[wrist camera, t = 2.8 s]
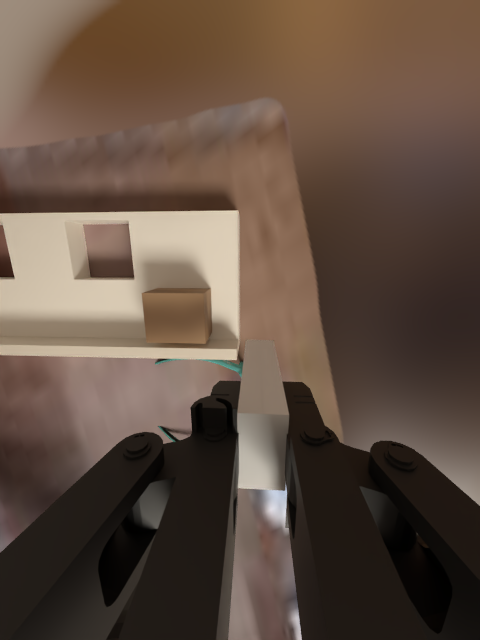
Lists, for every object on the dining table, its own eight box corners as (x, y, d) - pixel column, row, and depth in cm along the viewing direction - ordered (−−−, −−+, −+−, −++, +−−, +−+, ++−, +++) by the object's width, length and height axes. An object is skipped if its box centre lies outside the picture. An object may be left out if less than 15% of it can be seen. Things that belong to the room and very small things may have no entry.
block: (212, 332, 29) (205, 343, 25) (161, 331, 29) (146, 342, 25) (211, 288, 27) (203, 293, 24) (157, 288, 28) (141, 293, 24)
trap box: (240, 341, 32) (235, 363, 25) (-53, 336, 34) (-128, 355, 27) (239, 215, 28) (234, 202, 21) (-88, 219, 31) (-186, 208, 24)
